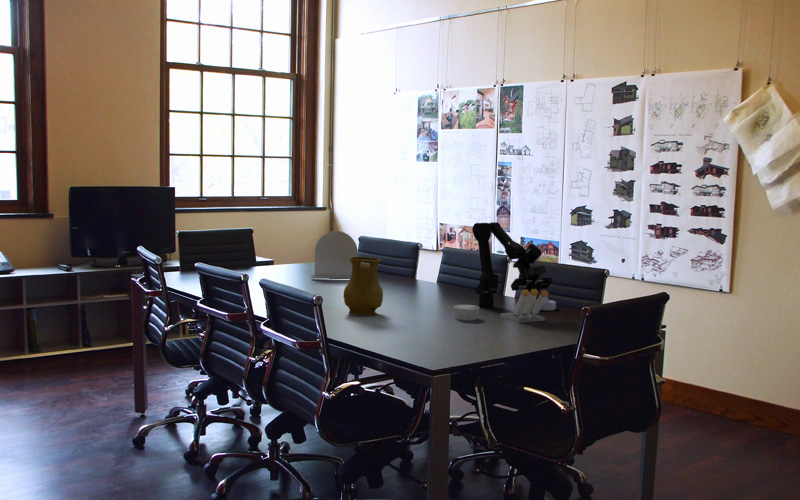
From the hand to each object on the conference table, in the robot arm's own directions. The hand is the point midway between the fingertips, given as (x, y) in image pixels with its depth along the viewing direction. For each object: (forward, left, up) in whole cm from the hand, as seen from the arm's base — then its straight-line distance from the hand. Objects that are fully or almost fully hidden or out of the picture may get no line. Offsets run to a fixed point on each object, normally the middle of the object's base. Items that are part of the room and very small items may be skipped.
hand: (539, 299), depth 321 cm
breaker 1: (-9, -2, -7) cm, 12 cm away
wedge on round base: (+4, +29, -9) cm, 31 cm away
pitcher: (-76, -1, -9) cm, 76 cm away
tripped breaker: (-2, +3, -7) cm, 7 cm away
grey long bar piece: (-6, +1, -7) cm, 9 cm away
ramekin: (-31, -2, -9) cm, 32 cm away
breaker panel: (-7, +2, -9) cm, 11 cm away
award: (-105, +100, -9) cm, 145 cm away
